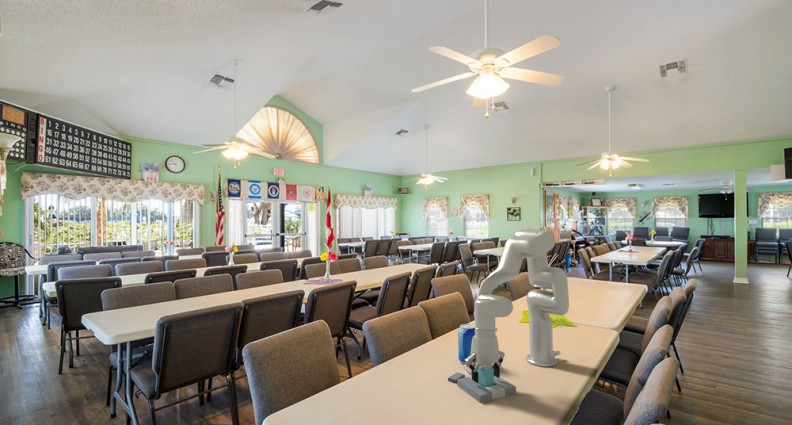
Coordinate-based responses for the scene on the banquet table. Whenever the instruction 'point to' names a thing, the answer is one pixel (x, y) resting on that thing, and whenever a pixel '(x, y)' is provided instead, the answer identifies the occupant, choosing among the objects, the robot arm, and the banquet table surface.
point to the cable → (467, 369)
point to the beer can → (465, 341)
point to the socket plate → (486, 389)
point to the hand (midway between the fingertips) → (485, 378)
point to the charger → (485, 376)
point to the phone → (456, 377)
